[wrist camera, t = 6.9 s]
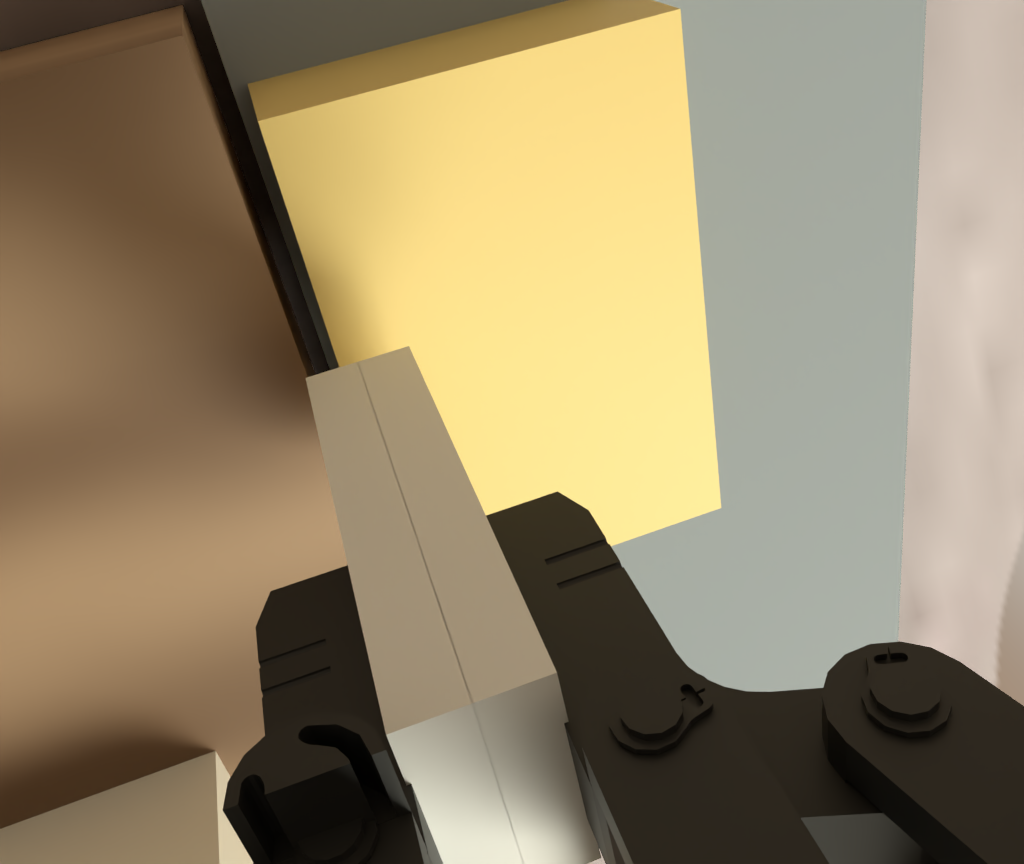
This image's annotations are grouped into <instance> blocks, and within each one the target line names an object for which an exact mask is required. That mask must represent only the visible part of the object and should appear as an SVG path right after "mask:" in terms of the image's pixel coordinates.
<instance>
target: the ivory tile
mask: <svg viewBox="0 0 1024 864" xmlns="http://www.w3.org/2000/svg"><path fill="white" fill-rule="evenodd" d="M229 779H230V775H229V773H228V772H227V770H226V768H225V766H224V765H223V763H222V761H221V759H220V758H219V756H218V754H217V753H216V751H213V752H210V753H208V754H205V755H202V756H199V757H197V758H194V759H191V760H188V761H186V762H183V763H180V764H177V765H175V766H172V767H169V768H166V769H164V770H161V771H158V772H155V773H153V774H150V775H147V776H144V777H142V778H139V779H136V780H134V781H131V782H128V783H125V784H123V785H120V786H117V787H114V788H112V789H109V790H106V791H103V792H101V793H98V794H95V795H92V796H90V797H87V798H84V799H81V800H79V801H76V802H73V803H70V804H68V805H65V806H62V807H59V808H57V809H54V810H51V811H48V812H46V813H43V814H40V815H37V816H35V817H32V818H29V819H26V820H24V821H21V822H18V823H15V824H13V825H10V826H7V827H4V828H2V829H0V864H253V861H252V859H251V858H250V856H249V854H248V853H247V851H246V849H245V847H244V846H243V844H242V842H241V841H240V839H239V837H238V836H237V834H236V832H235V831H234V829H233V827H232V825H231V824H230V822H229V820H228V819H227V817H226V815H225V814H224V812H223V805H224V800H225V794H226V789H227V783H228V781H229Z"/></svg>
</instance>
